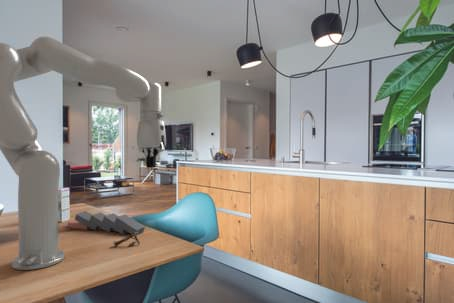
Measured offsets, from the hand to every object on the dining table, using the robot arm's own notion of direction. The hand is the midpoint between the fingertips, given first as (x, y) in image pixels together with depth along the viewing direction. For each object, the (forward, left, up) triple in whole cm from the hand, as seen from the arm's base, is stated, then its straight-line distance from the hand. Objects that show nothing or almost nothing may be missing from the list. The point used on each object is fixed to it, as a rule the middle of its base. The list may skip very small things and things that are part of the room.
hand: (151, 167), depth 106 cm
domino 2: (+12, +21, -24) cm, 34 cm away
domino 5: (+3, +4, -24) cm, 25 cm away
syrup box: (+28, +43, -25) cm, 57 cm away
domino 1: (+14, +25, -24) cm, 38 cm away
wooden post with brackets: (-10, +7, -26) cm, 28 cm away
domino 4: (+6, +10, -24) cm, 26 cm away
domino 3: (+9, +15, -24) cm, 30 cm away
